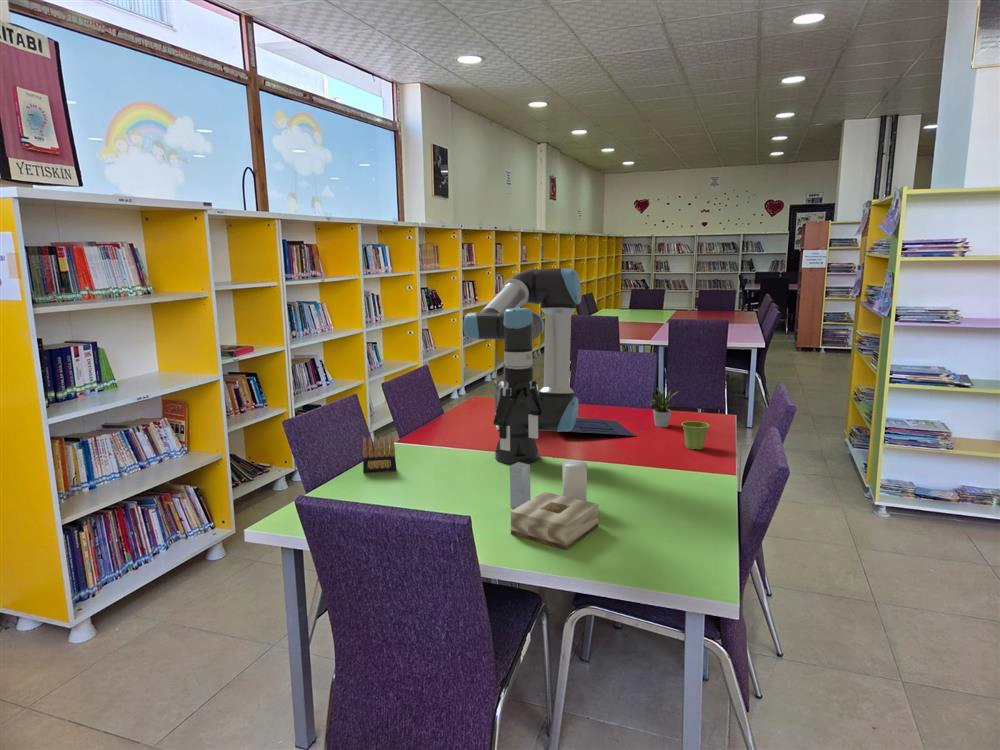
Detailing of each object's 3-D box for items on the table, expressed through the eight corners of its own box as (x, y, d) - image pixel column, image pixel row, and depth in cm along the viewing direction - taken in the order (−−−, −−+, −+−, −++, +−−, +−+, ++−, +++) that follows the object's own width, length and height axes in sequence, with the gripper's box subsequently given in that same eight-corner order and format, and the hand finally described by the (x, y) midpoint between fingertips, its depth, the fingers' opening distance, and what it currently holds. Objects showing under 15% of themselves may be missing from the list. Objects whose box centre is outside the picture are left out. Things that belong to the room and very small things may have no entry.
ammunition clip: (396, 469, 208) (394, 434, 206) (396, 471, 207) (394, 435, 204) (363, 471, 207) (361, 436, 205) (363, 473, 205) (361, 437, 203)
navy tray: (546, 422, 260) (547, 414, 260) (615, 427, 265) (616, 418, 264) (560, 438, 237) (561, 429, 236) (635, 443, 241) (637, 433, 241)
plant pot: (691, 442, 232) (692, 419, 230) (713, 448, 224) (714, 424, 223) (675, 447, 226) (676, 423, 225) (697, 453, 219) (698, 429, 217)
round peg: (558, 506, 174) (558, 465, 172) (570, 499, 179) (570, 458, 177) (579, 511, 170) (579, 469, 168) (590, 504, 175) (591, 462, 173)
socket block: (510, 533, 157) (510, 511, 156) (545, 512, 170) (544, 491, 168) (566, 549, 147) (566, 525, 146) (598, 526, 160) (598, 504, 159)
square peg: (510, 507, 174) (509, 465, 172) (518, 502, 177) (518, 462, 175) (522, 510, 171) (521, 468, 169) (530, 505, 175) (530, 464, 172)
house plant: (633, 425, 258) (634, 386, 255) (653, 419, 267) (654, 381, 264) (663, 431, 247) (664, 390, 244) (683, 425, 256) (684, 385, 254)
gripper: (502, 374, 155) (504, 457, 159) (555, 361, 175) (555, 435, 179) (478, 372, 159) (480, 452, 163) (532, 359, 179) (533, 431, 183)
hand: (519, 443), depth 171 cm, fingers open, 13 cm apart
